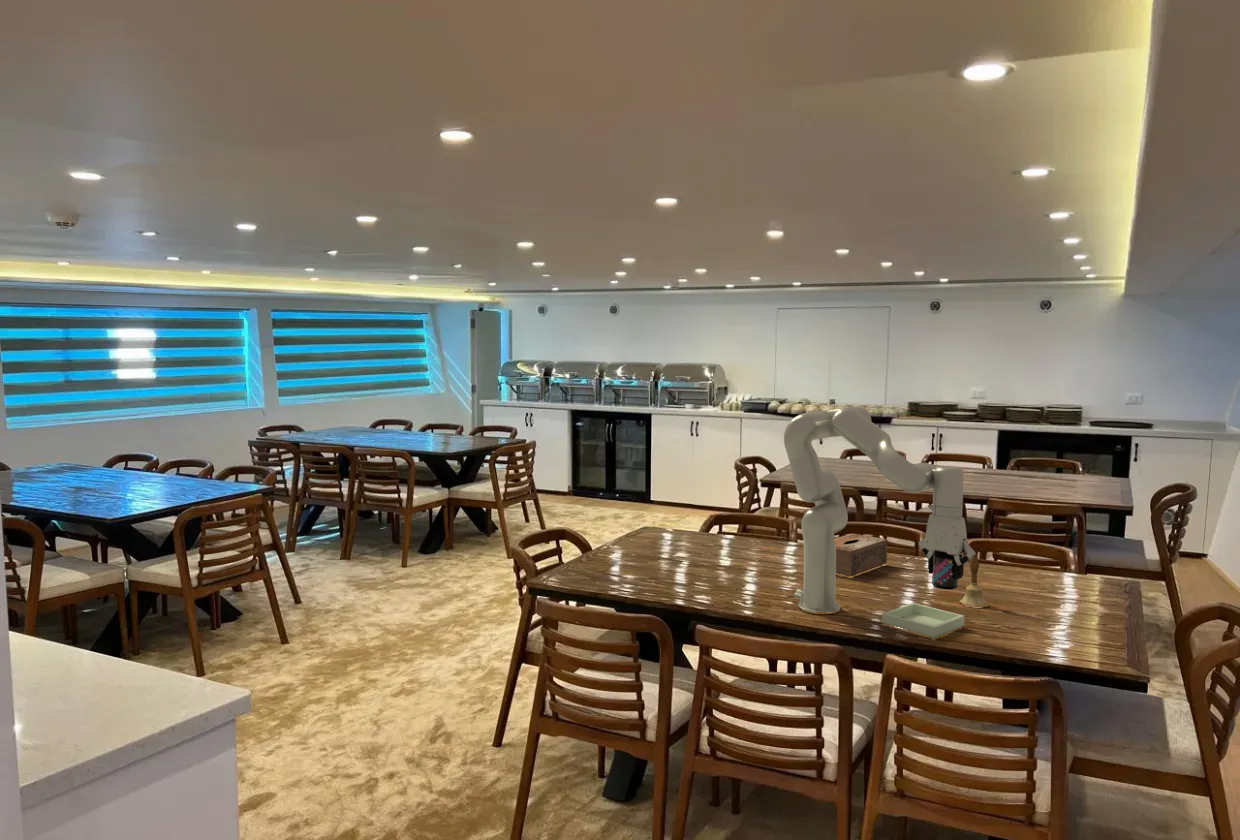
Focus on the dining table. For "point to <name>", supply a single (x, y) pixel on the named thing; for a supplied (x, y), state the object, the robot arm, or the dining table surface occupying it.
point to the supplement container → (943, 571)
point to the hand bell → (974, 587)
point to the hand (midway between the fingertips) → (945, 575)
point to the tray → (924, 619)
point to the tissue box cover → (859, 553)
